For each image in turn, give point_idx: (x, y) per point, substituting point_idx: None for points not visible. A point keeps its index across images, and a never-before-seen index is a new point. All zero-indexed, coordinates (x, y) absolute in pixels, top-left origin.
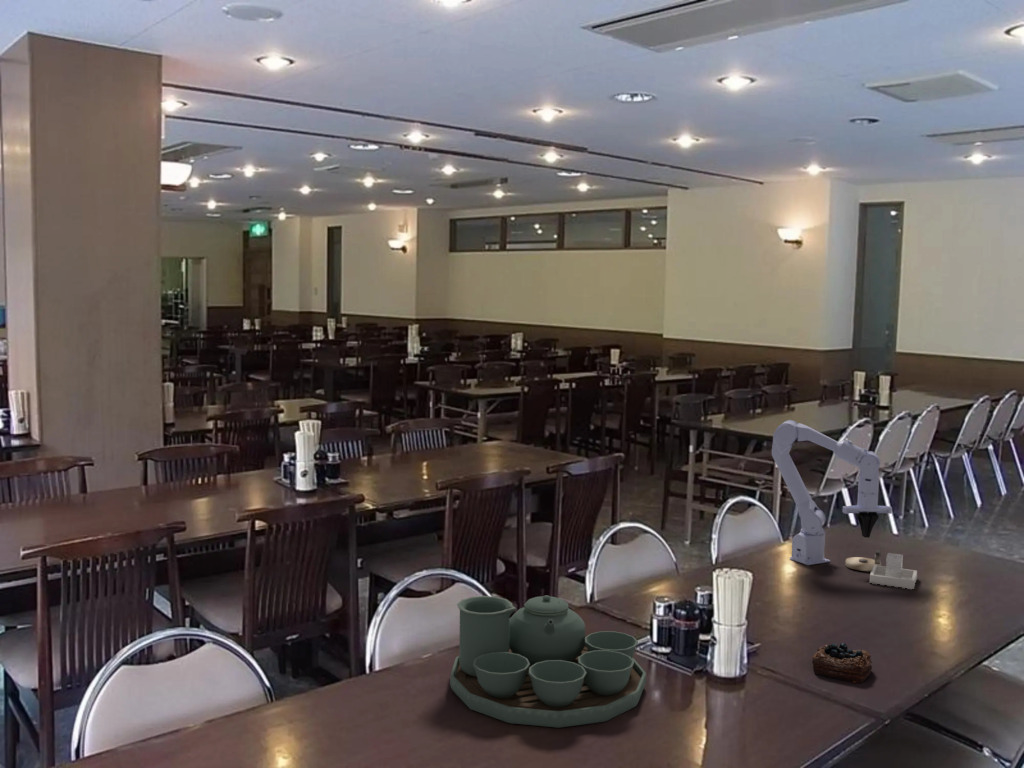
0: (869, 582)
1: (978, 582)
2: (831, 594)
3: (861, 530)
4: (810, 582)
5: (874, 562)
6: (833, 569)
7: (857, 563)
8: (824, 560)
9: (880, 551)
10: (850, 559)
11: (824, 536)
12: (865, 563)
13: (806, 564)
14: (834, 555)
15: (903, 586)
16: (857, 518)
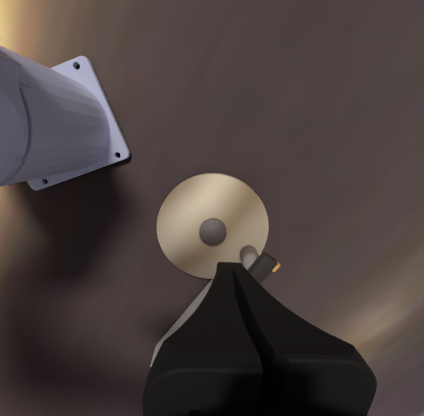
0: (155, 347)
1: (420, 355)
2: (36, 396)
3: (215, 276)
4: (7, 328)
5: (245, 242)
6: (110, 232)
7: (182, 248)
8: (106, 155)
9: (275, 262)
10: (181, 202)
11: (33, 164)
12: (208, 250)
13: (31, 184)
14: (188, 60)
15: None
16: (183, 325)
